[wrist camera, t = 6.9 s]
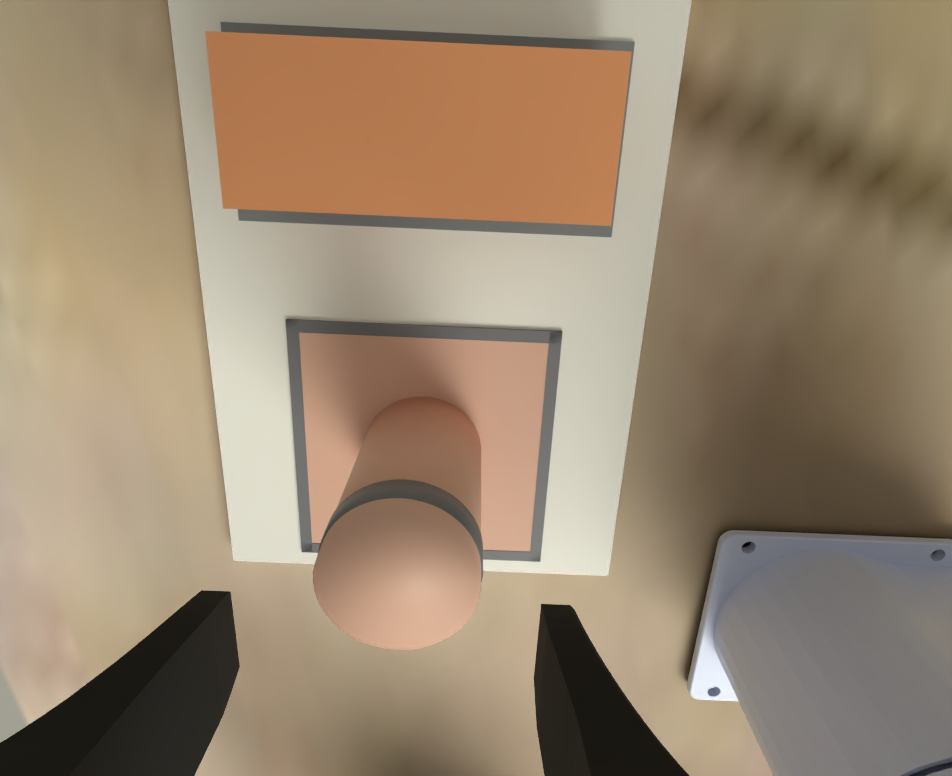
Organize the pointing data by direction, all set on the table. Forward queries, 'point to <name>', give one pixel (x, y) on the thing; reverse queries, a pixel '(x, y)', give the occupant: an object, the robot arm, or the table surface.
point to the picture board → (432, 300)
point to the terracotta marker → (406, 530)
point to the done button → (417, 127)
